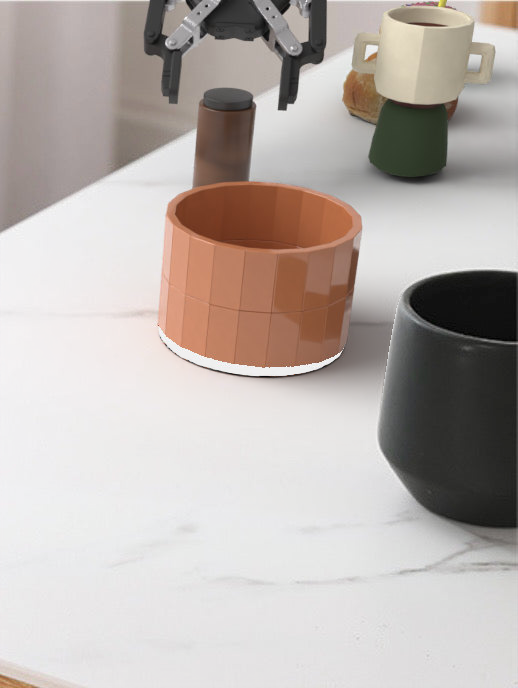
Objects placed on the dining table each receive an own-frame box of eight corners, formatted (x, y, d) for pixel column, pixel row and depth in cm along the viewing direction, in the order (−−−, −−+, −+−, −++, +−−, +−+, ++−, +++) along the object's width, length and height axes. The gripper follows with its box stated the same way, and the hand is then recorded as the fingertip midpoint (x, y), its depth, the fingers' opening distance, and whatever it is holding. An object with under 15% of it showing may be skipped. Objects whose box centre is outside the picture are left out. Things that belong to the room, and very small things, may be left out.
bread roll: (352, 163, 143) (378, 98, 136) (319, 86, 149) (343, 20, 142) (455, 157, 144) (485, 91, 138) (418, 80, 150) (446, 14, 144)
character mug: (476, 165, 132) (502, 11, 126) (470, 193, 126) (498, 33, 120) (344, 150, 135) (363, -1, 129) (333, 177, 130) (352, 21, 123)
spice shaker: (247, 189, 127) (257, 87, 123) (246, 209, 124) (256, 105, 120) (193, 186, 128) (201, 84, 124) (190, 205, 124) (198, 101, 120)
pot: (342, 304, 108) (358, 187, 104) (348, 385, 97) (366, 259, 93) (164, 290, 110) (172, 175, 106) (151, 368, 100) (160, 244, 96)
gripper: (157, -106, 126) (136, 75, 121) (339, -100, 123) (324, 85, 119) (157, -54, 133) (138, 119, 129) (330, -47, 130) (316, 130, 126)
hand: (227, 102), depth 124 cm, fingers open, 8 cm apart
